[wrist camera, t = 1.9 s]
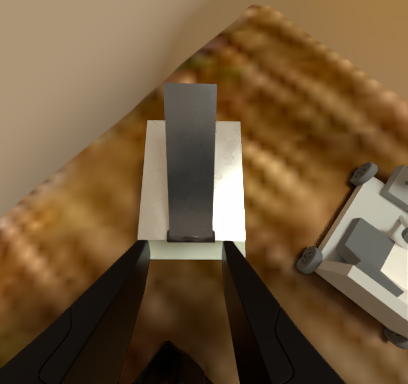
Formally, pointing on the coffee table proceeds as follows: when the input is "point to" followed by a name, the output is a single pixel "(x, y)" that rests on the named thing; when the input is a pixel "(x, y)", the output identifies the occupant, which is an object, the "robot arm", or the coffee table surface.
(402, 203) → the toy car
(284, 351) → the robot arm
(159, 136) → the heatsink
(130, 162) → the coffee table surface
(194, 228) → the strap
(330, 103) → the coffee table surface
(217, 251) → the board
